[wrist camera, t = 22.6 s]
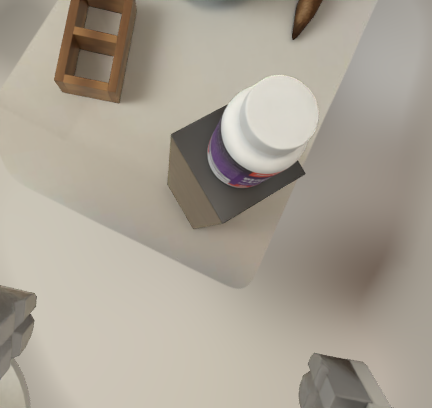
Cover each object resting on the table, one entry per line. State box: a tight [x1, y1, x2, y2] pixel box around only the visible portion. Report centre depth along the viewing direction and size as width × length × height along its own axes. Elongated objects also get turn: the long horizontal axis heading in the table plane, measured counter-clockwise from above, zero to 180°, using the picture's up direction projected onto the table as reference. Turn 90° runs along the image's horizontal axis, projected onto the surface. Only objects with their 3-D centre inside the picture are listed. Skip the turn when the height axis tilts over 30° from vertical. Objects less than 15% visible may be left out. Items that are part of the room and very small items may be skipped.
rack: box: [54, 0, 137, 103], centre depth 50 cm, size 8×16×4 cm, turn 172°
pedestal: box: [167, 105, 305, 229], centre depth 40 cm, size 8×8×26 cm
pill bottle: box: [207, 75, 319, 188], centre depth 22 cm, size 5×5×10 cm
